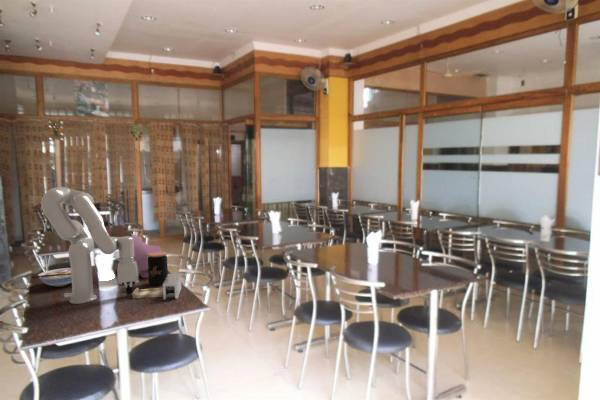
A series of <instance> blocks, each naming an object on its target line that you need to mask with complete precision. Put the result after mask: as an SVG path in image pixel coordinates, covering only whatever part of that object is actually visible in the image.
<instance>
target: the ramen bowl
mask: <svg viewBox="0 0 600 400" xmlns="http://www.w3.org/2000/svg"><path fill="white" fill-rule="evenodd" d="M31 278H32V279H37V278H38V279H39V280H40V281H41V282H42V283H43V284H45V285H47V286H51V287H52V286H53V287H56V288H59V287H60V288H61V287H66V286H68V285H69V284H70V285H71V284H72V277H71V267H65V268H64V267H63V268H56V269H50V270H47V271H43V272H41V273H39V274H37V275H33V276H31Z"/></svg>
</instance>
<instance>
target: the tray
mask: <svg viewBox="0 0 600 400" xmlns="http://www.w3.org/2000/svg"><path fill="white" fill-rule="evenodd" d="M131 295H132V299H133V300H134V299H135V298H137V299H151V298H163V287H158V288H144V289H143V288H141V289H139V287H136V288H135V289H134V290H133V292H132V293H131Z"/></svg>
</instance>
